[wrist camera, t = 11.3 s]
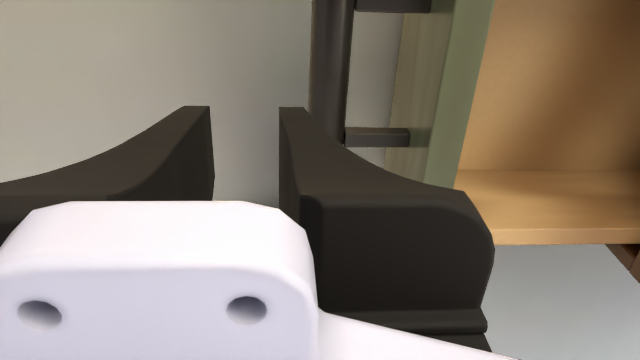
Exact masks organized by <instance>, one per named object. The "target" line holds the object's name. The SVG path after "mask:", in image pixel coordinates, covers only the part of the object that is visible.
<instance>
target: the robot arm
mask: <svg viewBox="0 0 640 360" xmlns="http://www.w3.org/2000/svg"><path fill="white" fill-rule="evenodd" d="M214 179H215V172H214V159H213V146H212V133H211V120H210V107H209V106H183V107H181V108H179V109H177V110H176V111H174V112H173V113H171V114H170V115H168V116H167V117H165V118H164V119H162V120H161V121H159V122H158V123H156V124H154V125H153V126H151V127H150V128H148V129H147V130H145V131H143V132H142V133H140V134H138V135H136V136H135V137H133V138H131V139H129V140H127V141H126V142H124V143H122V144H120V145H118V146H116V147H114V148H112V149H110V150H108V151H106V152H104V153H101V154H99V155H96V156H94V157H92V158H89V159H87V160H84V161H81V162H78V163H75V164H72V165H69V166H66V167H63V168H60V169H57V170H53V171H50V172H47V173H43V174H39V175H35V176H31V177H27V178H22V179H18V180H13V181H8V182H3V183H0V360H520V359H516V358H512V357H507V356H503V355H499V354H495V353H492V351H491V349H490V346H489V344H488V342H487V340H486V338H485V335H484V333H486V331H487V328H488V326H487V320H486V318H485V316H484V314H483V312H482V310H481V308H480V307H481V303H482V300H483V297H484V293H485V290H486V287H487V283H488V280H489V277H490V274H491V270H492V267H493V261H494V254H495V247H494V242H493V237H492V234H491V232H490V230H489V229H488V227H487V225H486V224H485V222H484V220H483V218H482V217H481V215H480V213H479V211H478V210H477V208H476V207H475V205H474V204H473V202H472V201H471V200H470V198H469V197H468V196H467V194H466V193H465V192H464V191H461V190H456V189H451V188H446V187H440V186H435V185H430V184H426V183H422V182H419V181H415V180H412V179H409V178H405V177H403V176H400V175H397V174H394V173H392V172H389V171H387V170H385V169H382V168H380V167H378V166H376V165H374V164H372V163H370V162H368V161H366V160H364V159H363V158H361V157H359V156H358V155H356V154H354V153H353V152H351V151H350V150H348V149H347V148H345V147H344V146H343V145H342V144H340V143H339V142H338V141H336V140H335V139H334V138H333V137H332V136H331V135H329V134H328V133H327V132H326V131H325V130H324V129H323V128H322V127H321V126H320V125H319V124H318V123H317V122H316V121H315V120H314V118H313V117H312V116H311V115H310V114H309V113H308V112H307V111H306V110H305V109H304V108H303V107H279V207H280V209H277V208H273V207H268V206H263V205H259V204H254V203H249V202H245V201H212V197H213V188H214Z"/></svg>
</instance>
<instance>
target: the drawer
mask: <svg viewBox="0 0 640 360" xmlns="http://www.w3.org/2000/svg"><path fill="white" fill-rule="evenodd" d="M354 9H355V11H357V12H384V13H404V17H403V25H402V32H401V40H400V48H399V55H398V63H397V70H396V78H395V85H394V93H393V101H392V108H391V116H390V123H389V128H373V127H345V119H346V106H347V94H348V81H349V69H350V57H351V44H352V32H353V19H354ZM308 113H309V114H310V115H311V116H312V117H313V118H314V120H315V121H316V122H317V123H318V124H319V125H320V126H321V127H322V128H323V129H324V130H325V131H326V132H327V133H328V134H329V135H331V136H332V137H333V138H334V139H335V140H336V141H338V142H339V143H340V144H342V145H343V144H344V147H386V154H385V161H384V169H385V170H387V171H389V172H392V173H394V174H397V175H400V176H403V177H405V178H409V179H412V180H415V181H419V182H422V183H426V184H430V185H435V186H440V187H446V188H451V189H456V190H461V191H464V192H465V193H466V194H467V196H468V197H469V198H470V200H471V201H472V202H473V204H474V205H475V207H476V208H477V210H478V211H479V213H480V215H481V217H482V218H483V220H484V222H485V224H486V225H487V227H488V229H489V230H490V232H491V234H492V237H493V242H494V245H556V244H639V243H640V0H312V19H311V46H310V74H309V101H308Z"/></svg>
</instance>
